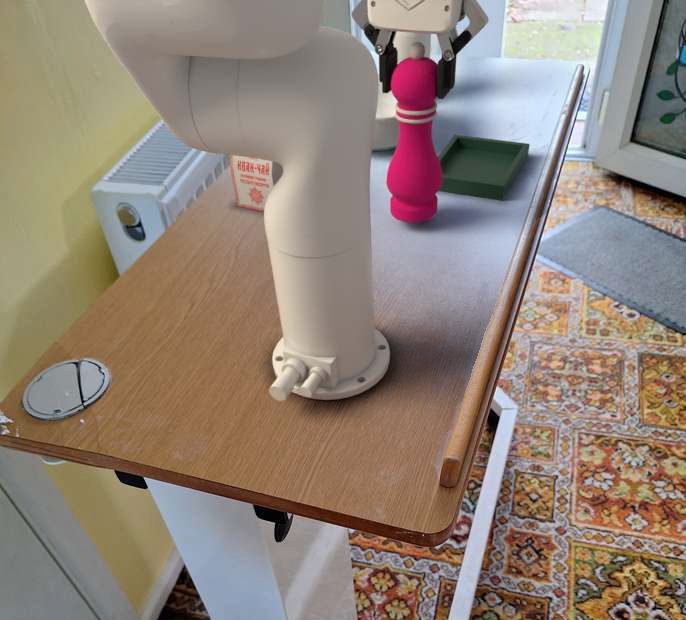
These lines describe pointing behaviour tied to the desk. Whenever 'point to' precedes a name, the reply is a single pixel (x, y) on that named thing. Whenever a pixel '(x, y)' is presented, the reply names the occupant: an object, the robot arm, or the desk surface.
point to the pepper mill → (414, 139)
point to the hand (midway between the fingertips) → (416, 90)
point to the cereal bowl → (385, 122)
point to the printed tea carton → (253, 180)
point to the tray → (481, 166)
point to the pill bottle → (410, 43)
